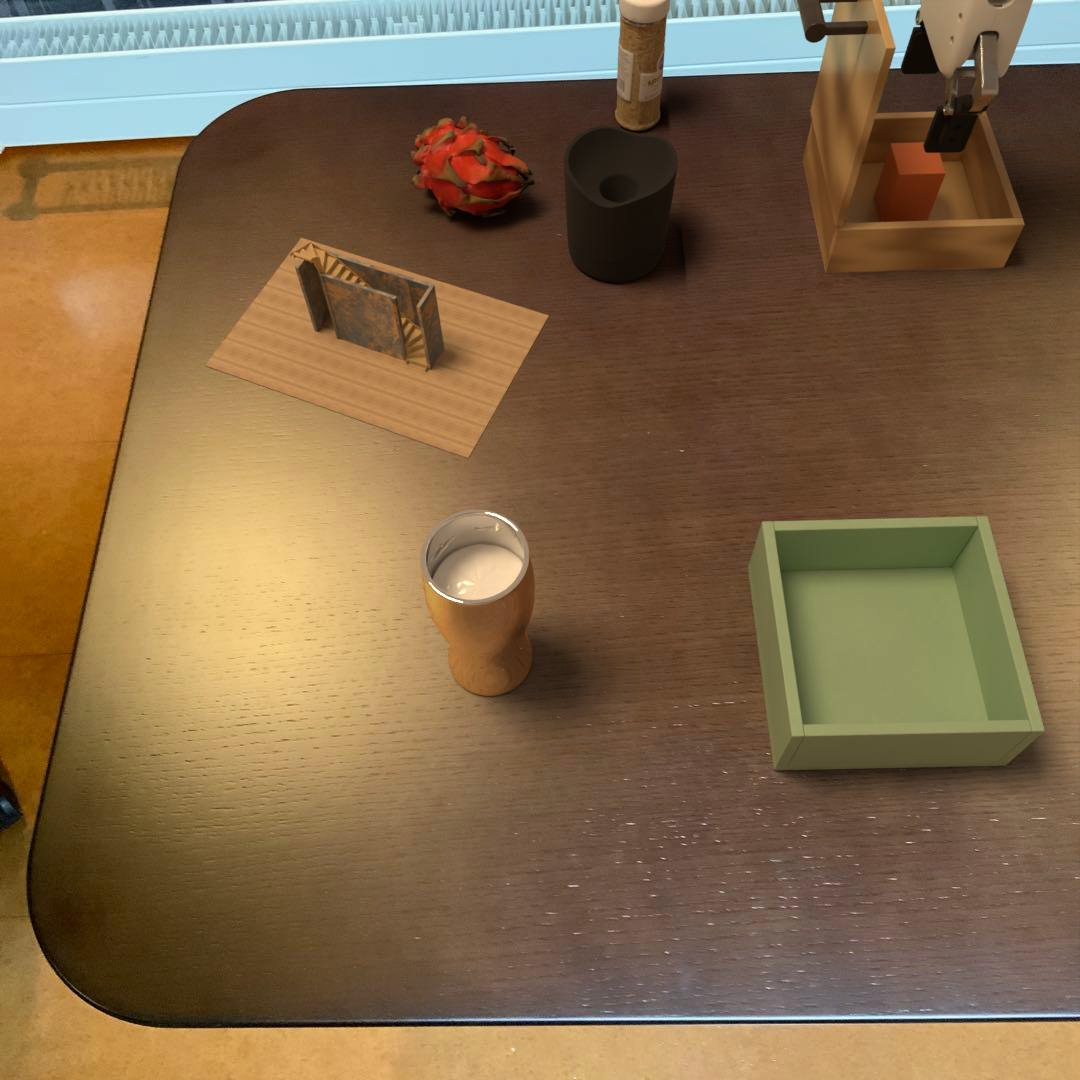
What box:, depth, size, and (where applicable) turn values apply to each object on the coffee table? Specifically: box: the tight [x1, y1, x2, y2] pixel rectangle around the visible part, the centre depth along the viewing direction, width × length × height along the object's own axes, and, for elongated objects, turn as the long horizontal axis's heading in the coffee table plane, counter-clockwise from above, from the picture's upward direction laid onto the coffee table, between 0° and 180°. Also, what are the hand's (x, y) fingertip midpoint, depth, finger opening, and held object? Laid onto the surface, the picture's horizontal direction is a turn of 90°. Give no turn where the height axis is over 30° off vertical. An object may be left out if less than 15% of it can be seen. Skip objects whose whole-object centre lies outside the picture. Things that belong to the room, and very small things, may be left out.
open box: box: [747, 515, 1046, 771], centre depth 72 cm, size 16×16×7 cm
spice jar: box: [614, 0, 671, 132], centre depth 99 cm, size 5×5×13 cm
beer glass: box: [419, 508, 536, 697], centre depth 69 cm, size 7×7×15 cm
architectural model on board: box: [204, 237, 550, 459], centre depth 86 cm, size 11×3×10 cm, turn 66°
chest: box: [802, 110, 1026, 274], centre depth 94 cm, size 16×15×6 cm
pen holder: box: [563, 125, 679, 283], centre depth 91 cm, size 9×9×10 cm
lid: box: [796, 0, 897, 226], centre depth 84 cm, size 16×15×5 cm
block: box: [874, 142, 946, 222], centre depth 93 cm, size 4×4×6 cm
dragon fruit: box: [410, 115, 535, 218], centre depth 96 cm, size 8×8×12 cm
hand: (930, 109), depth 87 cm, fingers open, 9 cm apart
